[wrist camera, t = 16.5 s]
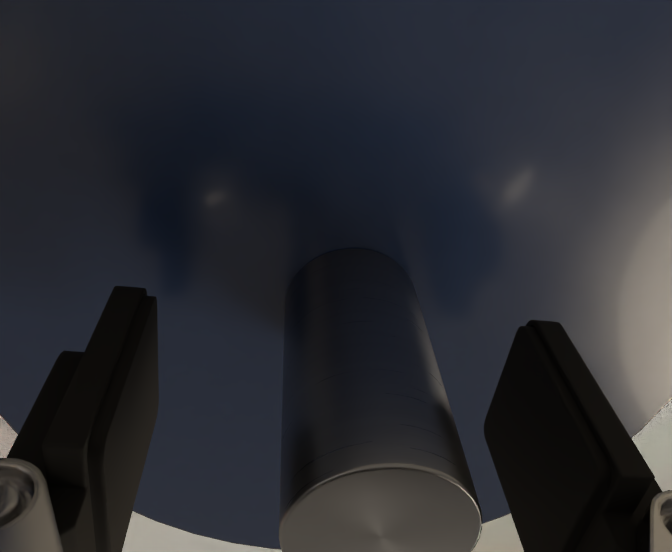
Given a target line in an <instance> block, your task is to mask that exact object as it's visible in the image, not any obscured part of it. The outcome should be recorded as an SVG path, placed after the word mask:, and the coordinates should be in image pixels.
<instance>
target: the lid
mask: <svg viewBox="0 0 672 552" xmlns="http://www.w3.org/2000/svg"><path fill="white" fill-rule="evenodd" d="M115 286H127V287H139V288H146V290H147V296H156V297H157V321H158V383H159V405H158V413H157V419H156V423H155V426H154V430H153V434H152V438H151V442H150V445H149V449H148V453H147V457H146V461H145V464H144V468H143V472H142V476H141V480H140V483H139V487H138V491H137V495H136V499H135V503H134V506H133V510H132V511H134V512H136V513H138V514H141V515H143V516H145V517H147V518H150V519H152V520H154V521H157V522H160V523H163V524H166V525H169V526H172V527H175V528H178V529H181V530H184V531H187V532H190V533H193V534H197V535H201V536H205V537H210V538H214V539H218V540H222V541H226V542H231V543H236V544H243V545H250V546H257V547H263V548H270V549H282V552H472V550H473V549H474V547H475V546H476V544H477V542H478V540H479V537H480V533H481V530H482V524H483V523H486V522H489V521H492V520H494V519H497V518H500V517H503V516H505V515H507V514H510V513H511V512H510V509H509V506H508V503H507V500H506V497H505V495H504V492H503V489H502V486H501V483H500V480H499V477H498V474H497V471H496V469H495V466H494V463H493V460H492V457H491V454H490V451H489V448H488V445H487V443H486V440H485V436H484V422H485V418H486V415H487V413H488V410H489V407H490V404H491V401H492V399H493V396H494V393H495V390H496V387H497V385H498V382H499V379H500V376H501V374H502V371H503V368H504V365H505V362H506V360H507V357H508V354H509V351H510V348H511V346H512V343H513V340H514V337H515V334H516V332H517V330H518V328H519V327H520V326H526V324H527V323H528V321H530V320H542V321H554V322H559V323H560V324H561V325H562V326H563V328H564V330H565V331H566V333H567V335H568V336H569V338H570V339H571V341H572V343H573V344H574V346H575V348H576V349H577V351H578V352H579V354H580V356H581V357H582V359H583V361H584V362H585V364H586V366H587V367H588V369H589V370H590V372H591V374H592V375H593V377H594V379H595V380H596V382H597V383H598V385H599V387H600V388H601V390H602V392H603V393H604V395H605V397H606V398H607V400H608V401H609V403H610V405H611V406H612V408H613V410H614V411H615V413H616V414H617V416H618V418H619V419H620V421H621V423H622V424H623V426H624V428H625V429H626V431H627V432H628V434H629V436H630V437H631V438H632V437H633V436H634V435H636V434H637V433H638V432H639V431H640V430H641V429H642V428H643V427H644V426H645V425H646V424H647V423H648V422H649V421H650V420H651V419H652V418H653V417H654V416H655V415H656V414H657V413H658V412H659V411H660V410H661V409H662V408H663V407H664V406H665V405H666V404H667V403H668V402H669V401H670V400H671V399H672V0H0V415H1V416H2V417H3V419H4V420H5V421H6V422H7V423H8V424H9V425H10V426H11V427H12V429H13V430H14V431H15V432H16V433H17V434H19V432H20V430H21V428H22V426H23V424H24V422H25V421H26V419H27V417H28V415H29V413H30V411H31V409H32V407H33V405H34V403H35V401H36V399H37V397H38V395H39V393H40V391H41V389H42V387H43V385H44V383H45V381H46V379H47V377H48V375H49V373H50V371H51V369H52V367H53V366H54V364H55V362H56V360H57V358H58V356H59V355H60V353H61V352H63V351H77V352H85V349H86V347H87V345H88V343H89V341H90V338H91V336H92V334H93V332H94V330H95V327H96V325H97V323H98V321H99V319H100V317H101V314H102V312H103V310H104V308H105V306H106V303H107V301H108V299H109V297H110V295H111V292H112V290H113V288H114V287H115Z"/></svg>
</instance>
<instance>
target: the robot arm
mask: <svg viewBox="0 0 672 552" xmlns="http://www.w3.org/2000/svg"><path fill="white" fill-rule="evenodd" d="M158 405H159V383H158V321H157V297H156V296H147V290H146V288H139V287H127V286H115V287H114V288H113V290H112V292H111V295H110V297H109V299H108V301H107V303H106V306H105V308H104V310H103V312H102V314H101V317H100V319H99V321H98V323H97V325H96V327H95V330H94V332H93V334H92V336H91V338H90V341H89V343H88V345H87V347H86V349H85V352H77V351H63V352H61V353H60V355H59V356H58V358H57V360H56V362H55V364H54V366H53V367H52V369H51V371H50V373H49V375H48V377H47V379H46V381H45V383H44V385H43V387H42V389H41V391H40V393H39V395H38V397H37V399H36V401H35V403H34V405H33V407H32V409H31V411H30V413H29V415H28V417H27V419H26V421H25V422H24V424H23V426H22V428H21V430H20V432H19V434H18V436H17V438H16V440H15V442H14V444H13V446H12V448H11V450H10V452H9V454H8V456H7V458H0V552H122V548H123V544H124V541H125V537H126V533H127V529H128V525H129V522H130V518H131V514H132V510H133V506H134V503H135V499H136V495H137V491H138V487H139V483H140V480H141V476H142V472H143V468H144V464H145V461H146V457H147V453H148V449H149V445H150V442H151V438H152V434H153V430H154V426H155V423H156V419H157V413H158ZM484 436H485V440H486V443H487V445H488V448H489V451H490V454H491V457H492V460H493V463H494V466H495V469H496V471H497V474H498V477H499V480H500V483H501V486H502V489H503V492H504V495H505V497H506V500H507V503H508V506H509V509H510V512H511V515H512V518H513V521H514V523H515V526H516V529H517V532H518V535H519V538H520V541H521V544H522V547H523V549H524V552H672V491H670V490H668V491H664V492H662V490H661V489H660V487H659V486H658V484H657V482H656V481H655V479H654V478H655V477H654V475H653V473H652V472H651V470H650V468H649V467H648V465H647V463H646V462H645V460H644V459H643V457H642V455H641V454H640V452H639V450H638V449H637V447H636V446H635V444H634V442H633V441H632V439H631V437H630V436H629V434H628V432H627V431H626V429H625V428H624V426H623V424H622V423H621V421H620V419H619V418H618V416H617V414H616V413H615V411H614V410H613V408H612V406H611V405H610V403H609V401H608V400H607V398H606V397H605V395H604V393H603V392H602V390H601V388H600V387H599V385H598V383H597V382H596V380H595V379H594V377H593V375H592V374H591V372H590V370H589V369H588V367H587V366H586V364H585V362H584V361H583V359H582V357H581V356H580V354H579V352H578V351H577V349H576V348H575V346H574V344H573V343H572V341H571V339H570V338H569V336H568V335H567V333H566V331H565V330H564V328H563V326H562V325H561V324H560V323H559V322H554V321H542V320H530V321H528V323H527V324H526V326H520V327H519V328H518V330H517V332H516V334H515V337H514V340H513V343H512V346H511V348H510V351H509V354H508V357H507V360H506V362H505V365H504V368H503V371H502V374H501V376H500V379H499V382H498V385H497V387H496V390H495V393H494V396H493V399H492V401H491V404H490V407H489V410H488V413H487V415H486V418H485V422H484Z"/></svg>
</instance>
